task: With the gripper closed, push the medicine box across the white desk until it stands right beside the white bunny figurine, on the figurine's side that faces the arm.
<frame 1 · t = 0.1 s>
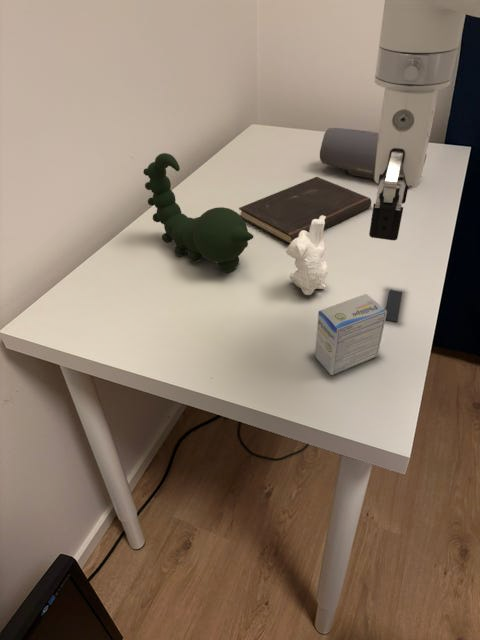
hand: (388, 218, 60), 19 cm above the table, tool pointing down, fingers open, 9 cm apart
white bunny figurine: (308, 288, 82), on the table
bluetooth speaker: (369, 176, 116), on the table
medicine box: (345, 358, 68), on the table
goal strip: (393, 305, 77), on the table
hardcover book: (305, 214, 102), on the table
toy figurine: (203, 257, 91), on the table
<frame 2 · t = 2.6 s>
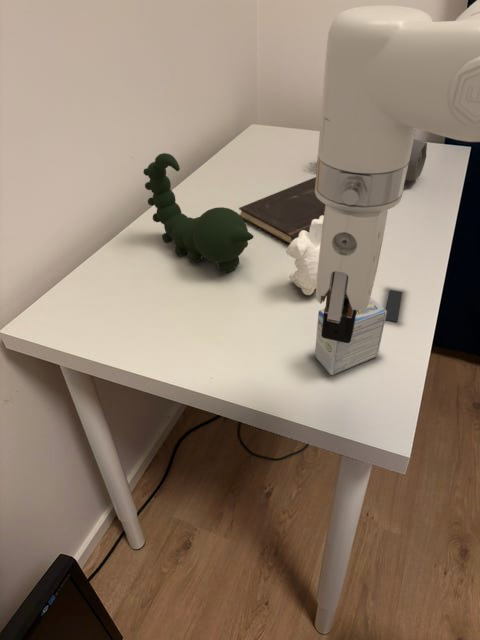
hand: (336, 335, 53), 12 cm above the table, tool pointing down, fingers closed
nothing on the table moved.
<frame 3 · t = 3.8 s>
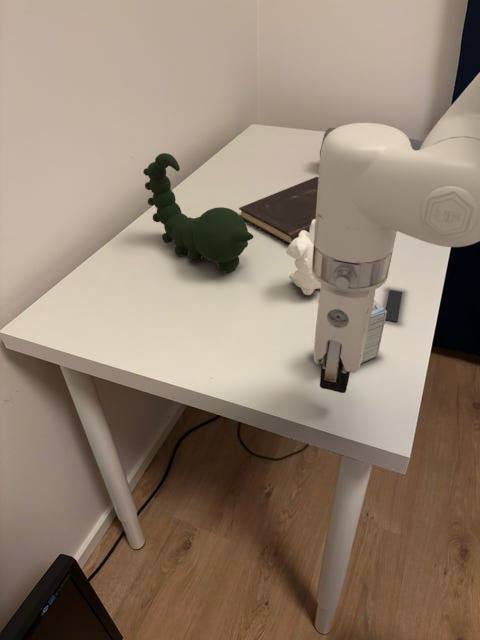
hand: (333, 385, 59), 4 cm above the table, tool pointing down, fingers closed
nothing on the table moved.
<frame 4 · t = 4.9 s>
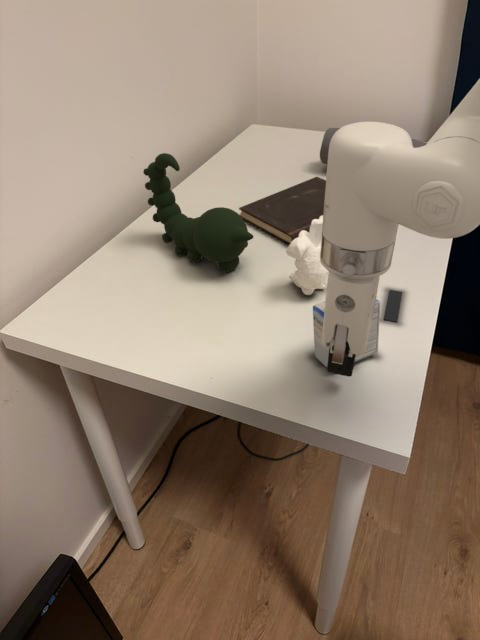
hand: (340, 370, 63), 3 cm above the table, tool pointing down, fingers closed
medicine box: (346, 356, 68), on the table, touching gripper
everything else where it was.
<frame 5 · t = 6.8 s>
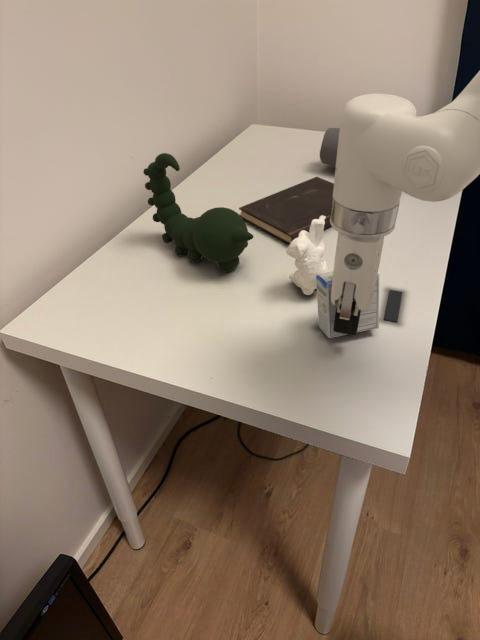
hand: (345, 330, 68), 3 cm above the table, tool pointing down, fingers closed
medicine box: (348, 330, 72), on the table, touching gripper
everything else where it was.
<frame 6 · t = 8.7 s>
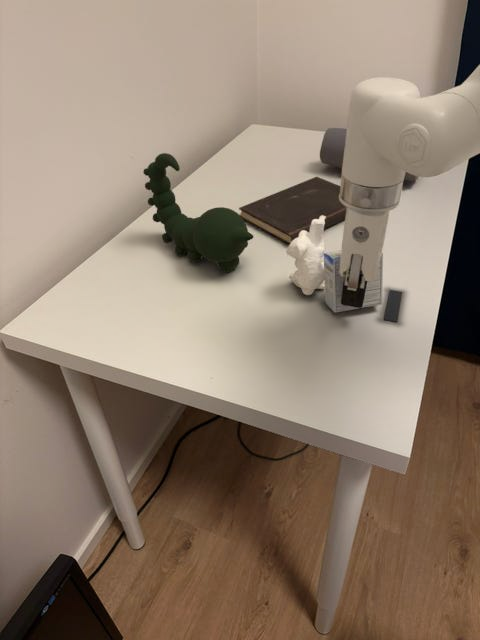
hand: (352, 303, 72), 3 cm above the table, tool pointing down, fingers closed
medicine box: (353, 306, 77), on the table, touching gripper
everything else where it was.
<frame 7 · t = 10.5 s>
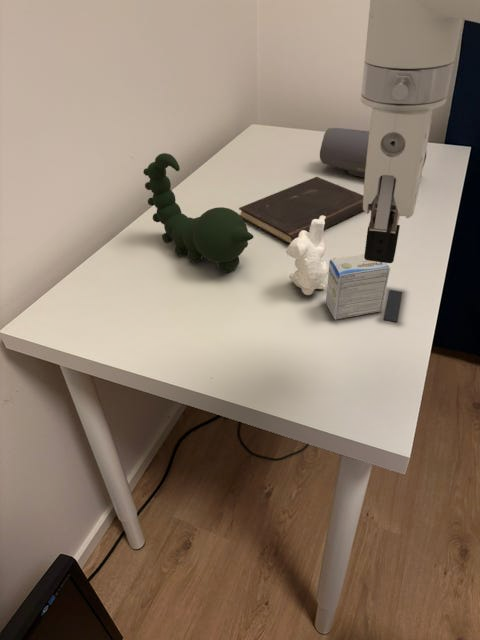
hand: (379, 257, 55), 18 cm above the table, tool pointing down, fingers closed
medicine box: (353, 309, 77), on the table
everything else where it was.
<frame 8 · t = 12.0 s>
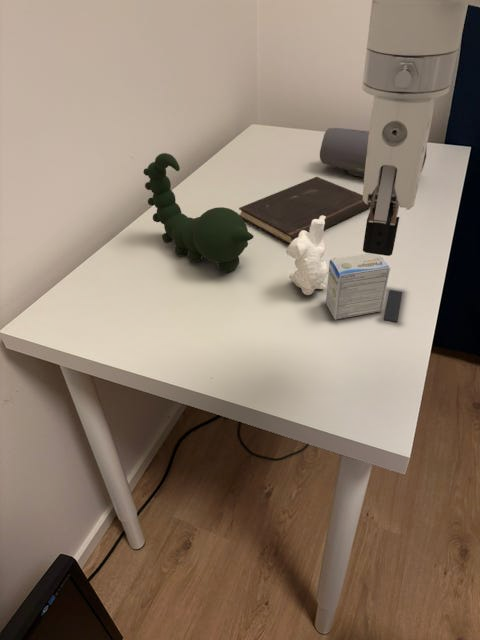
hand: (377, 250, 54), 19 cm above the table, tool pointing down, fingers closed
nothing on the table moved.
at the end: medicine box inside the target area on the table beside the white bunny figurine (3.6 cm from its centre), on the table; medicine box tilted 0°; white bunny figurine moved 0.2 cm from its start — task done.
